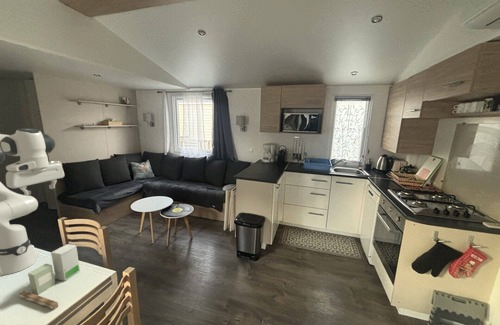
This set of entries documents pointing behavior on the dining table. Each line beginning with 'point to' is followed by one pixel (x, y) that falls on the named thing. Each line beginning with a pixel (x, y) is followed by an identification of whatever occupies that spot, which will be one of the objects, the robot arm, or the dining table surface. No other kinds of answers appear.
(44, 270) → the sage tea box
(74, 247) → the skincare box
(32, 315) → the dining table surface
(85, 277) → the dining table surface
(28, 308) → the dining table surface
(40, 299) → the rail
